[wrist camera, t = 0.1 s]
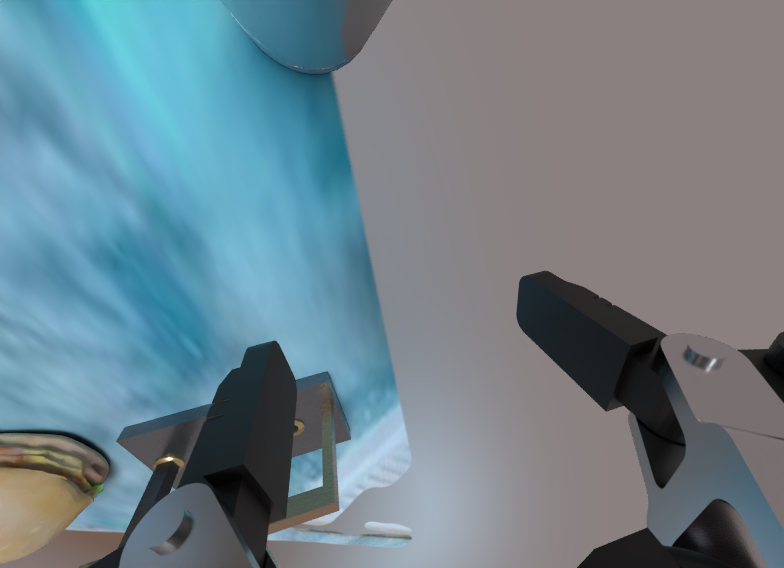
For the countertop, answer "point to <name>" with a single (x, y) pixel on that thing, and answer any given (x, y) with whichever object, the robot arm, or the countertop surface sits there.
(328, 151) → the countertop surface
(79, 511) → the burger
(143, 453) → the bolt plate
